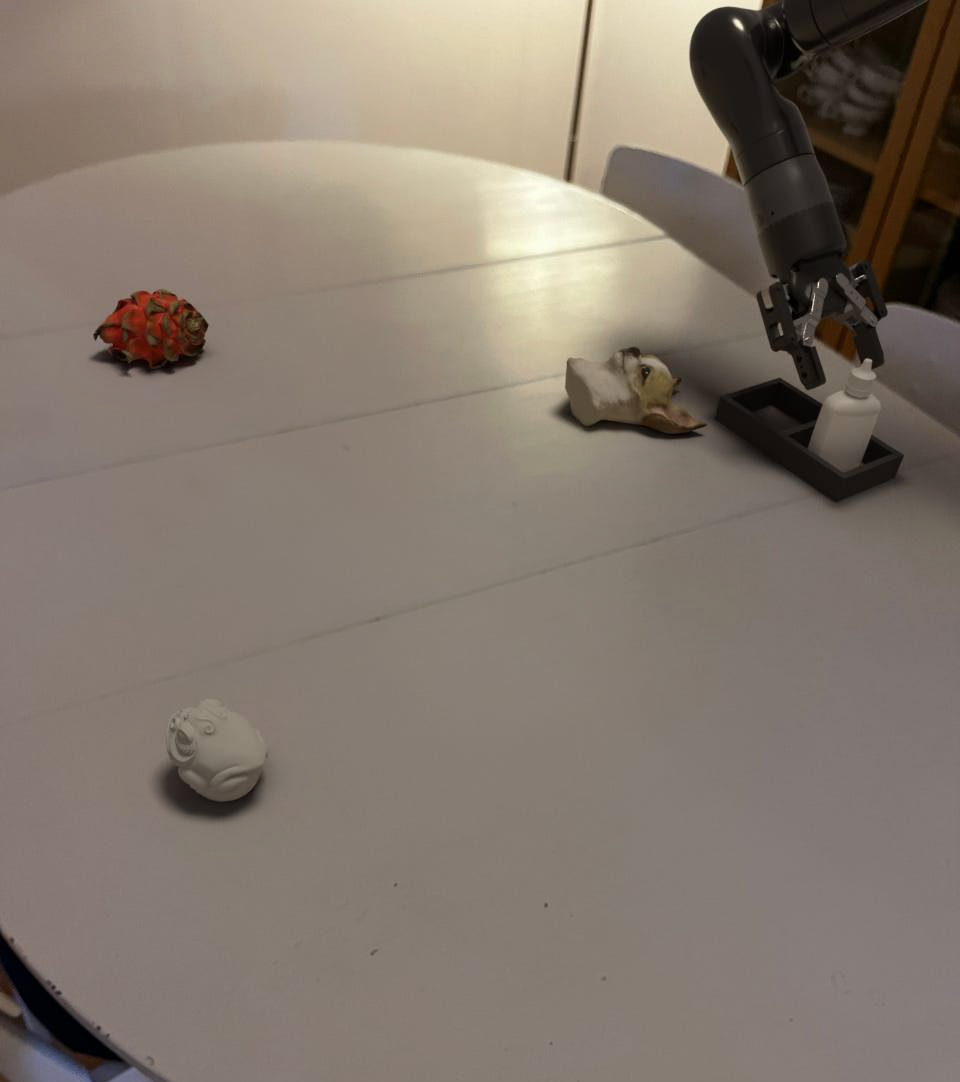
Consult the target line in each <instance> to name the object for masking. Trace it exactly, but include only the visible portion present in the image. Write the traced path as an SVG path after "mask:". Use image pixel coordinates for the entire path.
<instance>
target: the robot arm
mask: <svg viewBox="0 0 960 1082" xmlns="http://www.w3.org/2000/svg"><path fill="white" fill-rule="evenodd" d="M926 2H929V0H778V1H776V2H775V3H772V4H771V5H769V6H766V7H764V8H761V9H751V8H744V7H738V6H729V5H728V6H727V5H726V6H721V7H716V8H714V9H712V10H710V11H708V12H707V13H706V14H704V15H703V16H702V17H701V18H700V19H699V21H698V22H697V23H696V25H695V27H694V30H693V32H692V34H691V37H690V40H689V41H690V42H689V48H688V61H689V68H690V73H691V77H692V80H693V83H694V85H695V88H696V90H697V92H698V95H699V96H700V98H701V100H702V102H703V104H704V105H705V107H706V109H707V110H708V112H709V114H710V116H711V117H712V119H713V121H714V123H715V125H716V126H717V128H718V129H719V131H720V132H721V134H722V135H723V136H724V138H725V140H726V141H727V143H728V144H729V147H730V149H731V152H732V156H733V160H734V163H735V166H736V169H737V172H738V175H739V178H740V182H741V185H742V187H743V191H744V194H745V199H746V206H747V211H748V214H749V218H750V220H751V223H752V227H753V229H754V232H755V236H756V239H757V241H758V244H759V249H760V251H761V253H762V258H763V260H764V263H765V266H766V269H767V272H768V275H769V277H770V278H771V279H773V280H778V281H775V282H774V283H772V284H770V285H767V286H766V287H765V288H763V289H762V290H759V291H758V292H757V293H756V297H755V298H756V300H757V304H758V309H759V312H760V316H761V319H762V322H763V325H764V329H765V334H766V336H767V340H768V343H769V346H770V349H771V351H773V353H778V352H780V351H781V352H786V353H787V354H788V355H790V356H791V357H792V361H793V363H794V366H795V370H796V373H797V375H798V378H799V381H800V383H801V384H802V385H803V387H804V389H805V390H806V391H810V390H814V389H816V388H819V387H821V386H823V385H825V384H826V383H827V377H826V375H825V371H824V368H823V365H822V362H821V359H820V355H819V353H818V350H817V347H816V345H813V343H814V337H815V333H816V328H817V326H818V325H819V324H820V323H821V321H827V320H829V319H832V320H833V321H834V322H835V323H838V324H842V325H844V327H845V328H847V329H848V331H850V332H851V333H852V334H853V335H854V336H853V337H852V341H853V343H854V346H855V350H856V353H857V356H858V359H859V362H860V366H861V365H862V363H863V362H864V360H865V359H871V360H872V366H871V371H873V370H875V369H878V368H880V367H883V366H884V364H885V356H884V355H885V354H884V350H883V348H882V344H881V340H880V337H879V335H878V332H877V326H878V323H879V322H880V321H881V320H882V319H883V318H886V317H887V316H888V313H889V311H888V309H887V305H886V303H885V299H884V298H883V297H884V296H883V295H882V291H881V289H880V286H879V283H878V281H877V278H876V275H875V273H874V269H873V267H872V265H871V262H870V261H869V260H868V259H863V260H861V261H858V262H856V263H855V264H853V265H851V266H849V267H848V266H847V265H846V263H845V261H844V259H843V253H844V251H845V250H846V248H847V246H848V245H847V239H846V236H845V233H844V230H843V227H842V224H841V220H840V218H839V214H838V211H837V208H836V205H835V203H834V199H833V197H832V193H831V190H830V186H829V184H828V181H827V178H826V175H825V173H824V171H823V169H822V167H821V165H820V163H819V161H818V159H817V157H816V153H815V150H814V147H813V144H812V140H811V137H810V134H809V131H808V129H807V125H806V123H805V120H804V117H803V114H802V113H801V110H800V109H799V107H798V105H796V103H794V102H793V101H792V100H790V99H788V98H786V97H784V96H783V95H781V93H780V92H779V91H778V89H777V87H776V86H777V85H780V84H781V83H783V82H785V81H787V80H788V79H791V78H792V77H793V76H794V75H796V74H797V73H799V72H800V71H802V70H804V68H806V67H807V66H809V65H810V64H812V63H813V62H815V61H816V60H817V59H818V58H819V57H821V56H822V55H823V54H825V53H828V52H831V51H833V50H835V49H837V48H840V47H841V46H844V45H846V44H848V43H850V42H852V41H855V40H856V39H858V38H860V37H863V36H865V35H867V34H868V33H871V32H873V31H875V30H877V29H879V28H881V27H883V26H885V25H887V24H889V23H892V21H894V20H896V19H898V18H900V17H901V16H903V15H906V14H907V13H909V12H910V11H912V10H914V9H916V8H917V7H919V6H921V5H923V4H924V3H926ZM868 298H869V300H870V302H871V305H872V309H870V308H869V306H868V305H869V304H868V302H867V299H868ZM856 317H857V318H858V319H857V318H856ZM779 324H780V327H781V331H782V334H781V332H780V329H779Z"/></svg>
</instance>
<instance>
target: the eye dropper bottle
mask: <svg viewBox="0 0 960 1082" xmlns="http://www.w3.org/2000/svg"><path fill="white" fill-rule="evenodd" d="M871 366H872V360H871V359H865V360H864V362H863V363H862V365H861V364H860V366H859V367H854V368H852V369H851V370H850V373H849V376H848V378H847V382H846V384H845V387H844V389H842V390H839V391H836V392H834V393H832V394H830V395H829V396H827V397H826V398H825V399H824V401H823V403H822V404H823V405H822V408H821V411H820V413H819V416H818V419H817V422H816V425H815V428H814V431H813V434H812V437H811V440H810V443H809V446H808V450H810V451H811V452H813V453H814V454H816V455H817V456H819V457H820V458H822V459H823V460H825V461H826V462H828V463H829V464H831V465H832V466H834V467H836V468H837V469H839V470H840V471H842V472H843V473H844V472H847V471H849V470H852V469H854V468H857V467H860V466H861V465H862V462H861V461H862V459H863V456H864V454H865V451H866V448H867V446H868V443H869V440H870V438H871V435H873V432H874V429H875V427H876V424H877V422H878V419H879V416H880V414H881V409H882V405H881V402H880V400H879V399H878V398H877V397H876V396H875V395H874V394H872V390H873V387H874V385H875V382H876V380H877V375H876V373H875V372H874V371H873V370H871Z"/></svg>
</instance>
